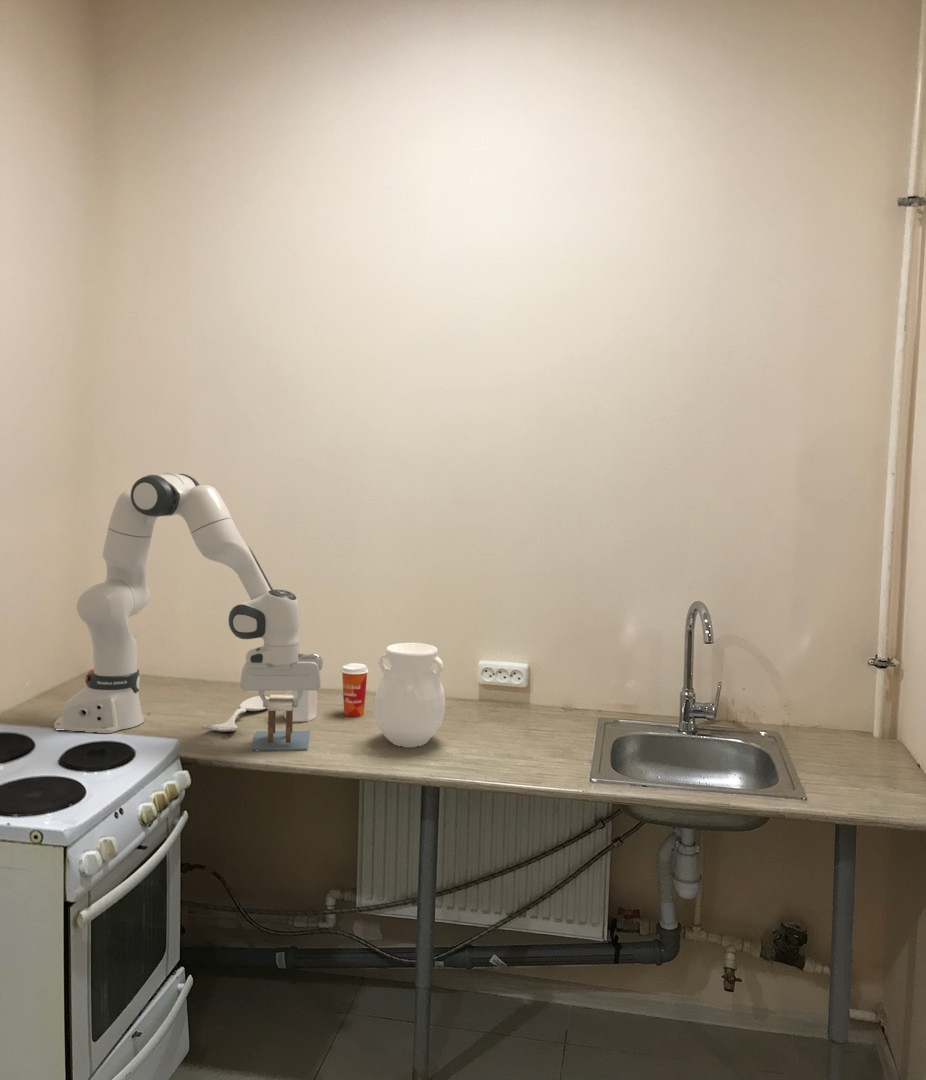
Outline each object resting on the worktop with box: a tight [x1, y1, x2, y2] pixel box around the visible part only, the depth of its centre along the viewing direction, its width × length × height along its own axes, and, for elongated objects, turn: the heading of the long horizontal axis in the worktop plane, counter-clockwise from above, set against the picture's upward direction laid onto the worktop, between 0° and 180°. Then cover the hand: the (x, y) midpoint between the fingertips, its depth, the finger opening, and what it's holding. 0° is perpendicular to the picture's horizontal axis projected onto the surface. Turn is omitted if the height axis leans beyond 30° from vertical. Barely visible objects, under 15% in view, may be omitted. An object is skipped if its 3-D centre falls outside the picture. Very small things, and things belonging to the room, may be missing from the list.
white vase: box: [373, 642, 446, 748], centre depth 240 cm, size 19×18×25 cm
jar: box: [283, 690, 318, 723], centre depth 257 cm, size 9×8×12 cm
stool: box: [266, 694, 294, 743], centre depth 236 cm, size 9×6×10 cm, turn 7°
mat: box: [250, 730, 310, 752], centre depth 238 cm, size 14×14×1 cm
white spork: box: [201, 695, 270, 733], centre depth 255 cm, size 9×32×4 cm, turn 171°
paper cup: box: [340, 663, 369, 718], centre depth 262 cm, size 8×8×14 cm
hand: (280, 706), depth 236 cm, fingers closed on stool, 6 cm apart
